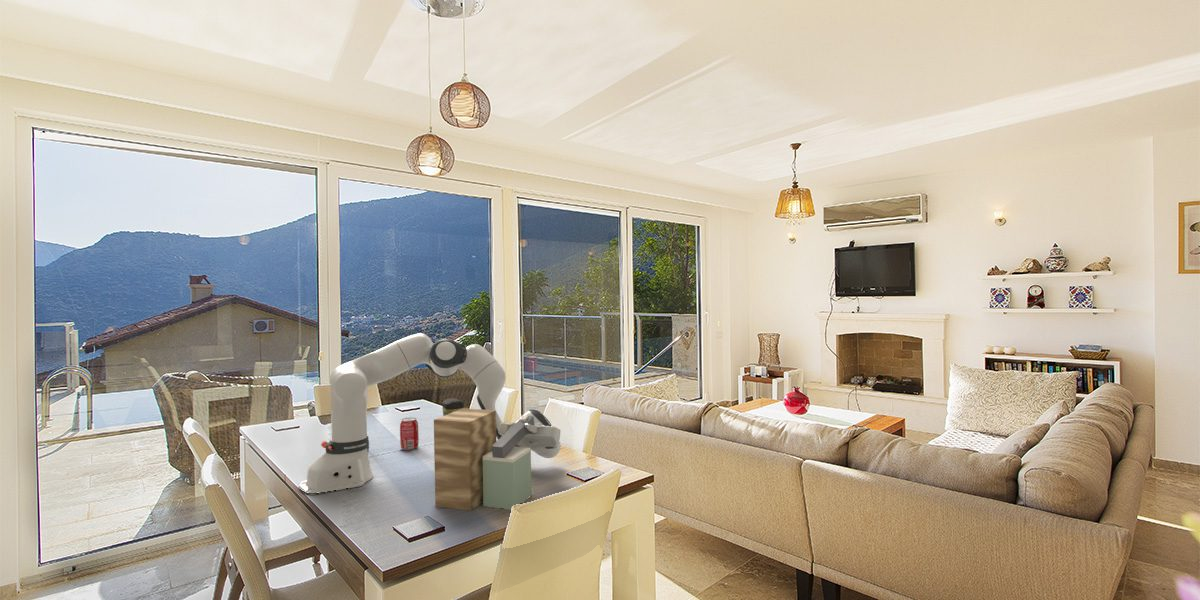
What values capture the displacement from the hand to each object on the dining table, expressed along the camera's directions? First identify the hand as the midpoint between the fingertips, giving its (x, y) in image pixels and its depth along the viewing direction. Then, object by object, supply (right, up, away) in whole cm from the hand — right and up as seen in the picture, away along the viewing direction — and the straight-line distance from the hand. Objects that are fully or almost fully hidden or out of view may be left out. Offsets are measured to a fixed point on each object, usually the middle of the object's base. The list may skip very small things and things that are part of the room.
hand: (519, 425), depth 178 cm
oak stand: (-15, -21, -5) cm, 27 cm away
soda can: (-52, -21, +49) cm, 75 cm away
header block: (-3, -21, -7) cm, 23 cm away
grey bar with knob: (-1, -4, -3) cm, 5 cm away
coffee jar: (-36, -20, +57) cm, 70 cm away
